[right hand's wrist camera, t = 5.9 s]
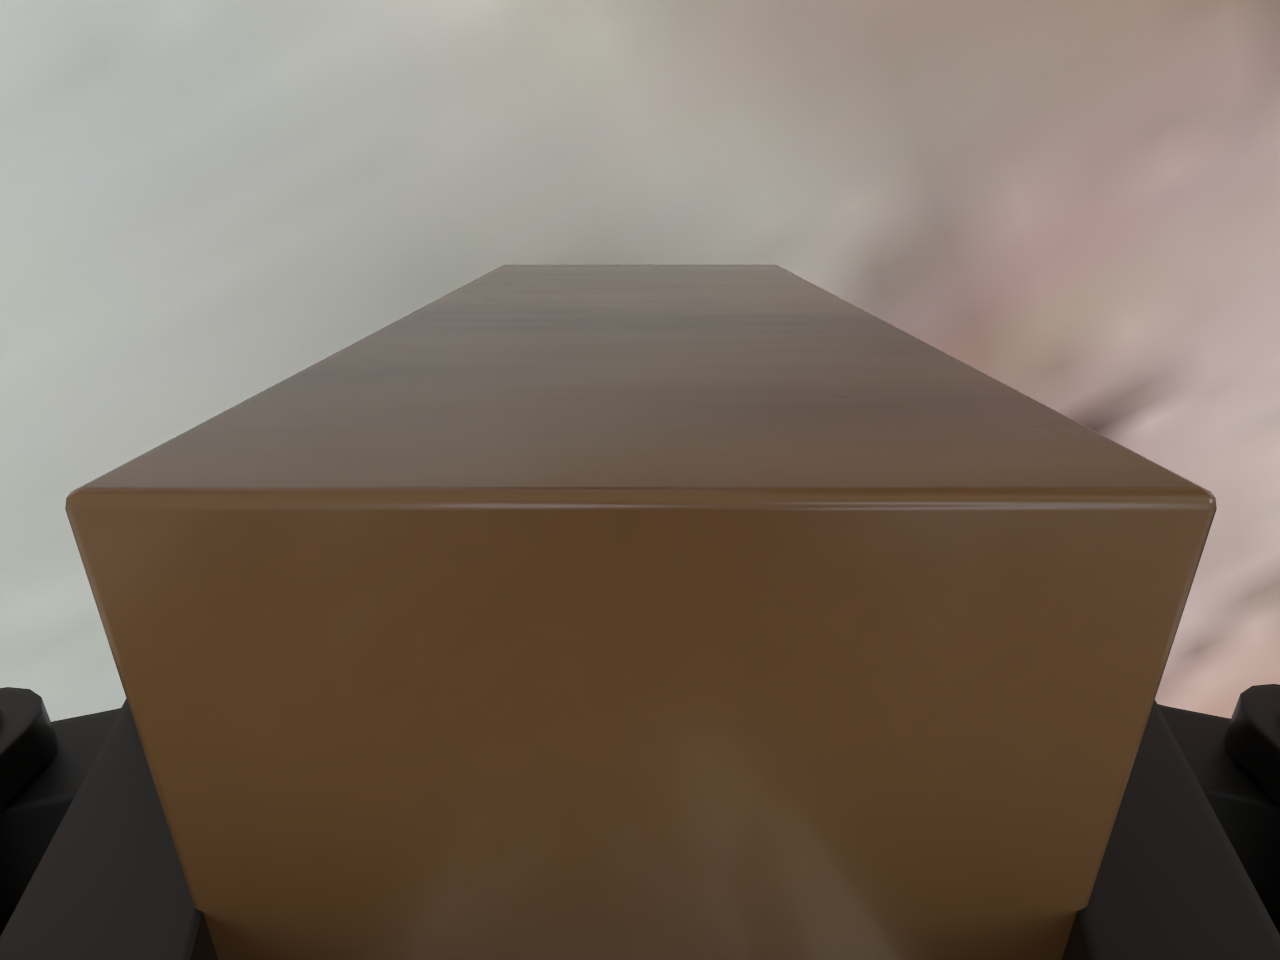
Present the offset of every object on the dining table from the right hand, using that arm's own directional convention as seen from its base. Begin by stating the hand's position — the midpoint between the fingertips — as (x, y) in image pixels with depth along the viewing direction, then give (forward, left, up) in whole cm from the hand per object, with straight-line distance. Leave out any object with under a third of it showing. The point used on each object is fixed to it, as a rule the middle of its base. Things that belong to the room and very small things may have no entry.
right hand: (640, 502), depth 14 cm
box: (+4, +7, -3) cm, 8 cm away
